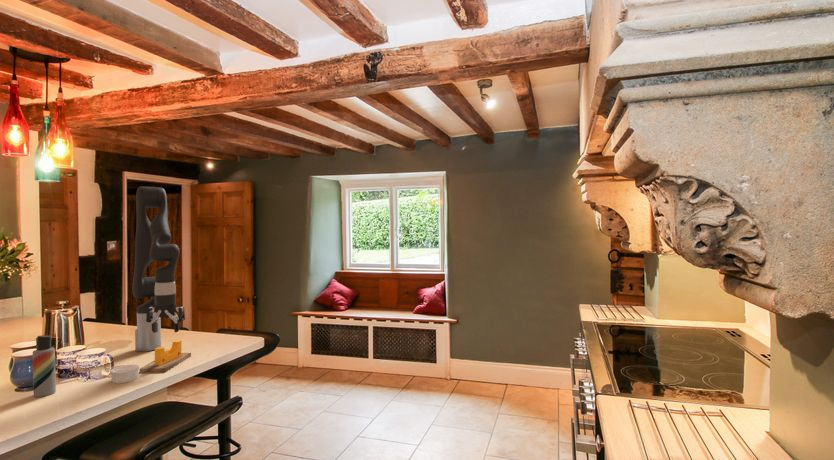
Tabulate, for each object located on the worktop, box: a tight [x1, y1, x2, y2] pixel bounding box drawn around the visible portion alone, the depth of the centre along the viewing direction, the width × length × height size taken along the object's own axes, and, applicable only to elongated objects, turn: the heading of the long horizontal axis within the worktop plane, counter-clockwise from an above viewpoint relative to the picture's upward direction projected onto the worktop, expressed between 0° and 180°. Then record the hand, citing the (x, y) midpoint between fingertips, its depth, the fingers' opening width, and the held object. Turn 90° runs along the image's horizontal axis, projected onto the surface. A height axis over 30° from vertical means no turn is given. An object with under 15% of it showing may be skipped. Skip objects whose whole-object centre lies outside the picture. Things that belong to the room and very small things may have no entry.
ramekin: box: [110, 363, 140, 384], centre depth 157 cm, size 9×9×4 cm
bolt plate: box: [139, 352, 192, 374], centre depth 174 cm, size 10×20×2 cm, turn 3°
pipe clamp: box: [154, 340, 182, 365], centre depth 174 cm, size 12×4×6 cm, turn 173°
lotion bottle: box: [32, 334, 57, 398], centre depth 144 cm, size 6×6×20 cm
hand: (165, 332), depth 174 cm, fingers open, 8 cm apart
